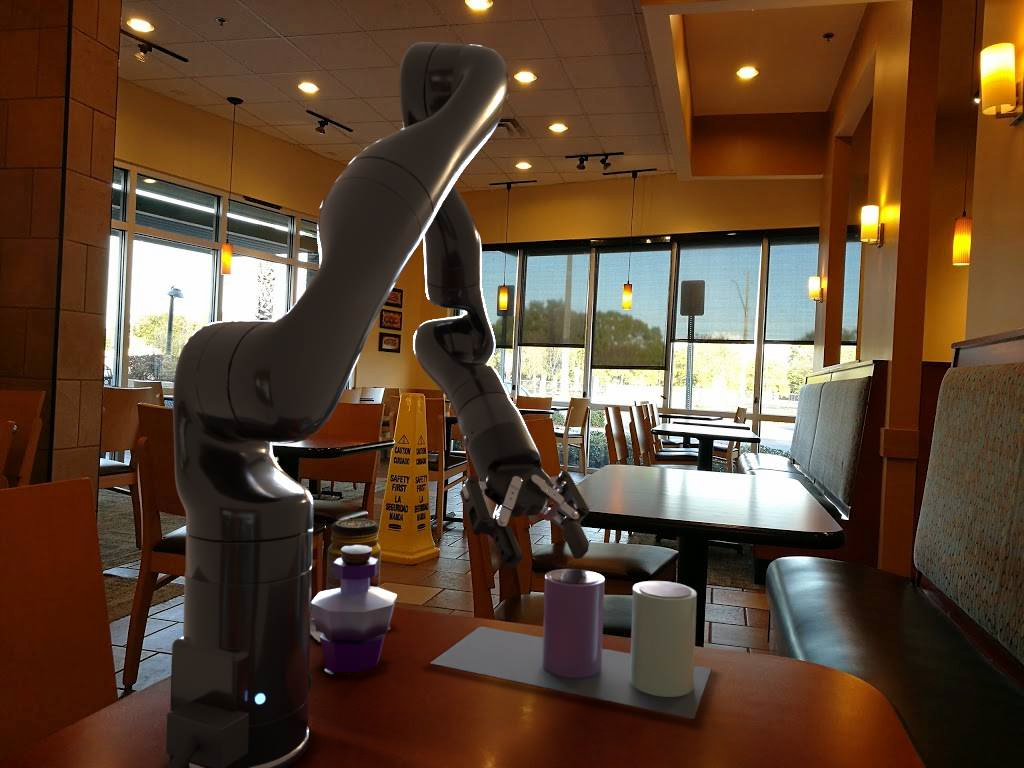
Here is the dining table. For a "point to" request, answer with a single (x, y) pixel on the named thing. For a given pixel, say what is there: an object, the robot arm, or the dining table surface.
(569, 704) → the dining table surface
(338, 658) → the potion bottle
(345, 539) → the condiment
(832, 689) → the dining table surface
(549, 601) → the purple tumbler
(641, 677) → the celadon tumbler
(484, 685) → the dining table surface
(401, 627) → the dining table surface
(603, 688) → the placemat
